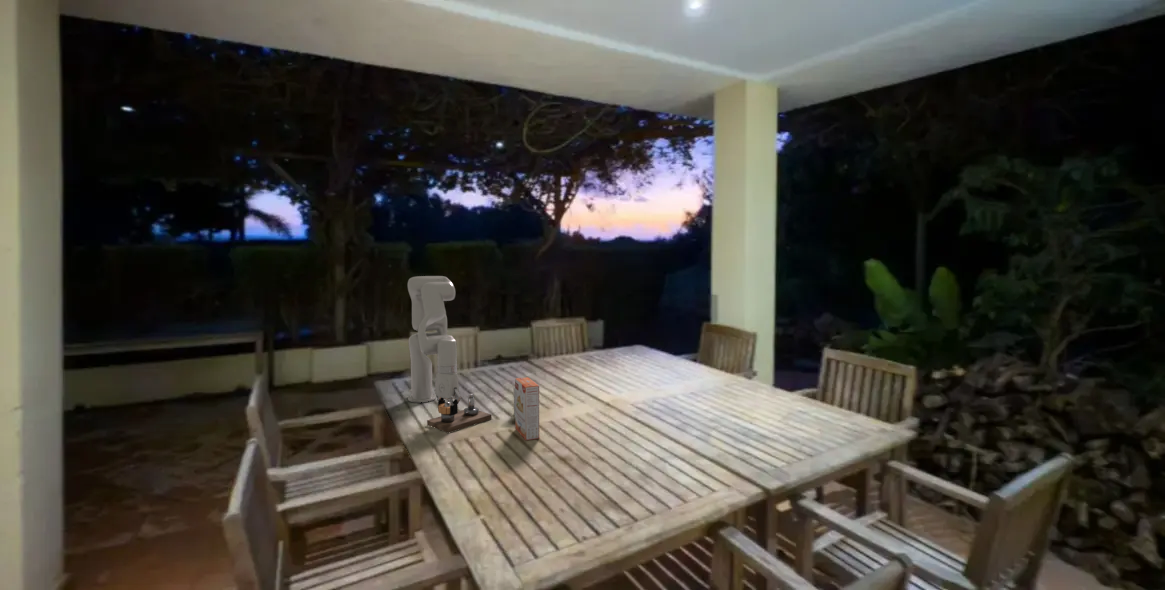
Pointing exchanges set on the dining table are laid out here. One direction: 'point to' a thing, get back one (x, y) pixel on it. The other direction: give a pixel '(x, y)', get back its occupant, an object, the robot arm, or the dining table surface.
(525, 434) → the cracker box
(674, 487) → the dining table surface
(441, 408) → the ring
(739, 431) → the dining table surface
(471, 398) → the hub
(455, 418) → the base board
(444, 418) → the gray oval domed knob
